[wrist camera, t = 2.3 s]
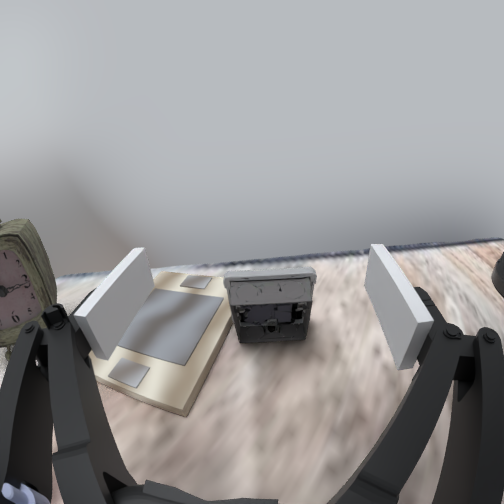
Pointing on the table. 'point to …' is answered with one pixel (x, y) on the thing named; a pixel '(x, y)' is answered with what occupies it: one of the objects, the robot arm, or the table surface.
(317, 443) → the table surface
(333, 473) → the table surface
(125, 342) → the mounting board
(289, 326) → the electrical switch
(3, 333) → the tabletop clock
